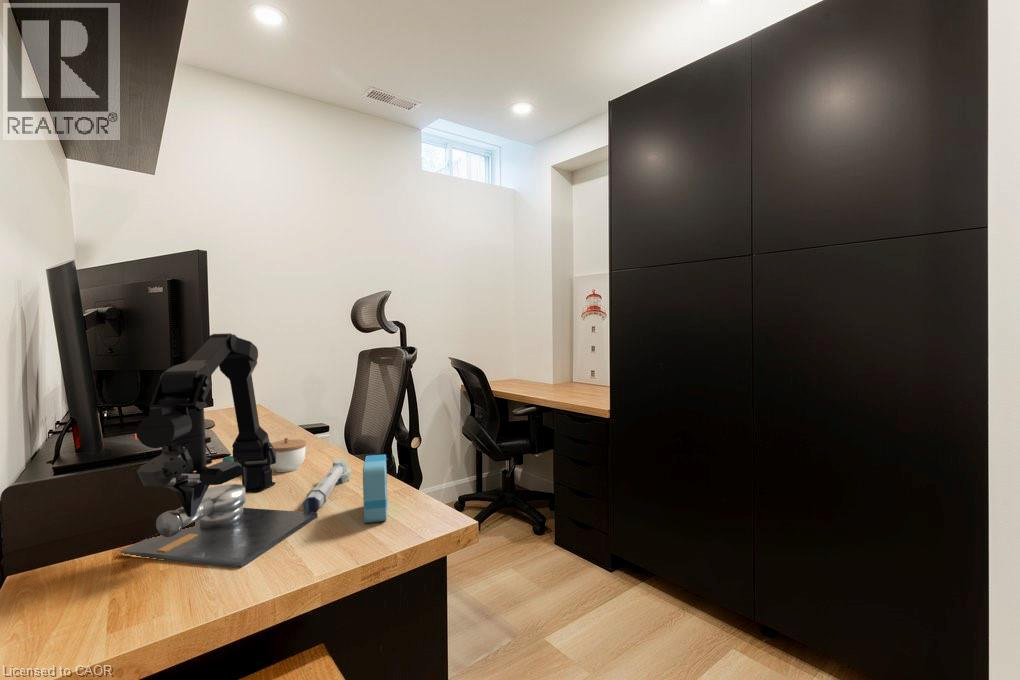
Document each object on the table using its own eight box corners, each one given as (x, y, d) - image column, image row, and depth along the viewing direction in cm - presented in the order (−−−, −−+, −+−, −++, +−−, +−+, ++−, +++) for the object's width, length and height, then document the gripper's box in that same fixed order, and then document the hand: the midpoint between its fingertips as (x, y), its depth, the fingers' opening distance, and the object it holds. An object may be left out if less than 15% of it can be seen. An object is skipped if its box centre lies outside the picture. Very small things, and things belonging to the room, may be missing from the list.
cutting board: (120, 556, 87) (119, 534, 87) (217, 510, 109) (216, 493, 109) (241, 567, 82) (240, 545, 82) (317, 517, 103) (316, 499, 103)
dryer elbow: (218, 500, 105) (217, 480, 105) (255, 501, 104) (254, 481, 104) (146, 536, 87) (145, 511, 87) (189, 538, 86) (188, 513, 86)
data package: (386, 523, 100) (384, 467, 99) (364, 525, 99) (362, 469, 98) (387, 502, 111) (386, 452, 111) (367, 505, 110) (366, 454, 110)
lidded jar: (296, 474, 135) (295, 442, 134) (259, 475, 135) (258, 442, 135) (313, 463, 145) (311, 433, 145) (278, 464, 146) (277, 434, 145)
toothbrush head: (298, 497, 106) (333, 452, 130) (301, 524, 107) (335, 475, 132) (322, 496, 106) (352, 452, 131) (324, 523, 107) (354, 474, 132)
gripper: (103, 445, 83) (108, 532, 84) (192, 446, 80) (197, 537, 80) (161, 431, 94) (165, 508, 95) (242, 432, 90) (246, 512, 91)
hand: (191, 516), depth 90 cm, fingers closed
